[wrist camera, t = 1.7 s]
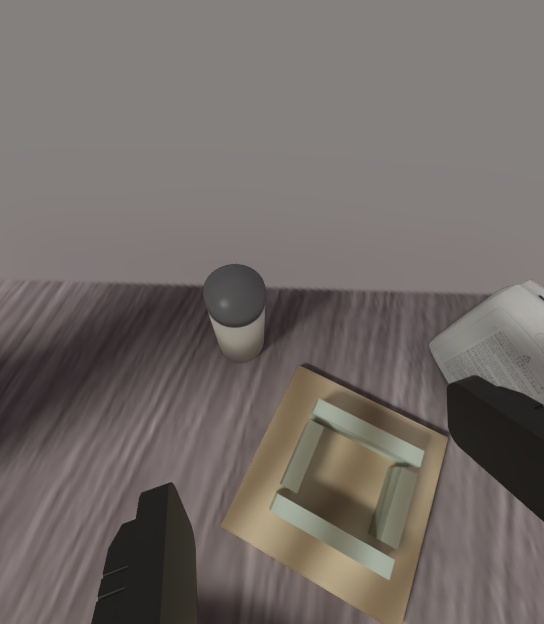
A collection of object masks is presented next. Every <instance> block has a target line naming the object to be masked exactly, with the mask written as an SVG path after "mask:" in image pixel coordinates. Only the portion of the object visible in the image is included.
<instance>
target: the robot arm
mask: <svg viewBox="0 0 544 624" xmlns="http://www.w3.org/2000/svg"><path fill="white" fill-rule="evenodd" d="M447 412H448V428H449V432H450V434H451V436H452V438H453V440H454V441H455V443H456V444H457V445H458V446H459V447H460V448H461V449H462V450H463V451H464V452H465V453H467V454H468V455H469V456H470V457H471V458H472V459H473V460H474V461H476V462H477V463H478V464H479V465H480V466H481V467H482V468H484V469H485V470H486V471H487V472H488V473H489V474H490V475H491V476H493V477H494V478H495V479H496V480H497V481H498V482H499V483H501V484H502V485H503V486H504V487H505V488H506V489H507V490H508V491H510V492H511V493H512V494H513V495H514V496H515V497H516V498H517V499H519V500H520V501H521V502H522V503H523V504H524V505H525V506H527V507H528V508H529V509H530V510H531V511H532V512H533V513H534V514H536V515H537V516H538V517H539V518H540V519H541V520H542V521H543V522H544V406H543V404H541V403H540V402H538V401H536V400H534V399H533V398H531V397H529V396H527V395H525V394H524V393H521V392H518V391H515V390H511V389H508V388H505V387H502V386H498V387H497V386H495V385H494V384H492V383H490V382H488V381H487V380H485V379H483V378H482V377H480V376H477V375H472V376H469V377H466V378H463V379H461V380H458V381H455V382H452V383H450V384H449V385H448V386H447ZM91 624H198V617H197V580H196V548H195V539H194V534H193V530H192V526H191V523H190V521H189V518H188V516H187V514H186V511H185V509H184V506H183V504H182V502H181V499H180V497H179V495H178V492H177V490H176V488H175V486H174V484H173V483H172V482H170V483H167V484H165V485H162V486H159V487H156V488H153V489H151V490H148V491H145V492H142V493H141V495H140V497H139V502H138V508H137V515H136V519H135V520H132V521H129V522H127V523H124V524H122V525H121V527H120V529H119V531H118V533H117V534H116V536H115V538H114V540H113V541H112V543H111V545H110V547H109V548H108V553H107V557H106V562H105V566H104V570H103V579H101V584H100V588H99V592H98V602H96V606H95V610H94V614H93V619H92V623H91Z"/></svg>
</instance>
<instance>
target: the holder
mask: <svg viewBox="0 0 544 624" xmlns="http://www.w3.org/2000/svg"><path fill="white" fill-rule="evenodd" d="M447 441H448V438H447V437H445V436H443V435H441V434H439V433H437V432H435V431H433V430H431V429H429V428H427V427H425V426H423V425H421V424H419V423H417V422H415V421H413V420H411V419H408V418H406V417H404V416H402V415H400V414H398V413H396V412H394V411H392V410H390V409H388V408H386V407H384V406H382V405H380V404H378V403H376V402H374V401H372V400H370V399H367V398H365V397H363V396H361V395H359V394H357V393H355V392H353V391H351V390H349V389H347V388H345V387H343V386H341V385H339V384H337V383H335V382H333V381H331V380H329V379H326V378H324V377H322V376H320V375H318V374H316V373H314V372H312V371H310V370H308V369H306V368H304V367H302V366H300V365H298V367H297V369H296V371H295V373H294V375H293V377H292V379H291V381H290V383H289V385H288V387H287V389H286V392H285V394H284V396H283V398H282V400H281V402H280V404H279V406H278V408H277V410H276V412H275V414H274V416H273V419H272V421H271V423H270V425H269V427H268V429H267V431H266V433H265V435H264V437H263V439H262V441H261V443H260V446H259V448H258V450H257V452H256V454H255V456H254V458H253V460H252V462H251V464H250V466H249V468H248V470H247V473H246V475H245V477H244V479H243V481H242V483H241V485H240V487H239V489H238V491H237V493H236V495H235V497H234V500H233V502H232V504H231V506H230V508H229V510H228V512H227V514H226V516H225V518H224V520H223V522H222V524H221V526H222V527H223V528H225V529H227V530H228V531H230V532H232V533H233V534H235V535H237V536H238V537H240V538H242V539H243V540H245V541H247V542H248V543H250V544H252V545H253V546H255V547H256V548H258V549H260V550H261V551H263V552H265V553H266V554H268V555H270V556H271V557H273V558H275V559H276V560H278V561H280V562H281V563H283V564H285V565H286V566H288V567H290V568H291V569H293V570H295V571H296V572H298V573H299V574H301V575H303V576H304V577H306V578H308V579H309V580H311V581H313V582H314V583H316V584H318V585H319V586H321V587H323V588H324V589H326V590H328V591H329V592H331V593H333V594H334V595H336V596H338V597H339V598H341V599H342V600H344V601H346V602H347V603H349V604H351V605H352V606H354V607H356V608H357V609H359V610H361V611H362V612H364V613H366V614H367V615H369V616H371V617H372V618H374V619H376V620H377V621H379V622H381V623H382V624H402V623H403V619H404V615H405V611H406V607H407V603H408V598H409V594H410V590H411V586H412V582H413V578H414V574H415V570H416V566H417V562H418V558H419V554H420V550H421V546H422V542H423V538H424V534H425V530H426V526H427V522H428V518H429V514H430V510H431V506H432V501H433V497H434V493H435V489H436V485H437V481H438V477H439V473H440V469H441V465H442V461H443V457H444V453H445V449H446V445H447Z"/></svg>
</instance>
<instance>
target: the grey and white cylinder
mask: <svg viewBox="0 0 544 624" xmlns="http://www.w3.org/2000/svg"><path fill="white" fill-rule="evenodd" d="M203 298H204V301H205V304H206V307H207V310H208V313H209V316H210V319H211V322H212V325H213V328H214V331H215V334H216V337H217V340H218V344H219V347H220V349H221V351H222V353H223V354H224V356H225V357H227V358H228V359H230V360H232V361H235V362H247V361H250V360H252V359H254V358H256V357H257V356H258V355H259V354H260V352H261V351H262V349H263V346H264V326H265V284H264V281H263V279H262V277H261V276H260V275H259V274H258V273H257V272H256V271H255V270H253V269H252V268H250V267H247V266H244V265H239V264H230V265H226V266H223V267H220V268H218V269H216V270H215V271H214V272H212V273H211V274H210V275H209V277H208V278H207V280H206V281H205V284H204V287H203Z"/></svg>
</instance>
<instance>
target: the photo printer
mask: <svg viewBox="0 0 544 624" xmlns="http://www.w3.org/2000/svg"><path fill="white" fill-rule="evenodd" d="M429 348H430V350H431V353H432V355H433V357H434V359H435V361H436V363H437V364H438V366H439V368H440V370H441V372H442V373H443V375H444V377H445V378H446V380H447V382H448V383H449V384H450V383H452V382H455V381H458V380H461V379H463V378H466V377H469V376H472V375H477V376H480V377H482V378H483V379H485V380H487V381H488V382H490V383H492V384H494V385H495V386H497V387H498V386H502V387H505V388H508V389H511V390H515V391H518V392H521V393H524V394H525V395H527V396H529V397H531V398H533V399H534V400H536V401H538V402H540V403H541V404H543V406H544V286H542V285H540V284H539V283H537V282H535V281H533V280H528V281H526V282H524V283H522V284H517V285H513V286H508V287H505V288H503V289H501V290H499V291H497V292H495V293H494V294H493V295H491V296H490V297H488V298H487V299H486V300H484V301H483V302H482V303H480V304H479V305H478V306H476V307H475V308H473V309H472V310H471V311H469V312H468V313H467V314H465V315H464V316H463V317H461V318H460V319H458V320H457V321H456V322H454V323H453V324H452V325H450V326H449V327H448V328H446V329H445V330H444V331H442V332H441V333H439V334H438V335H437V336H436V337H434V339H433V340H432V341H431V342H430V343H429Z"/></svg>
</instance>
